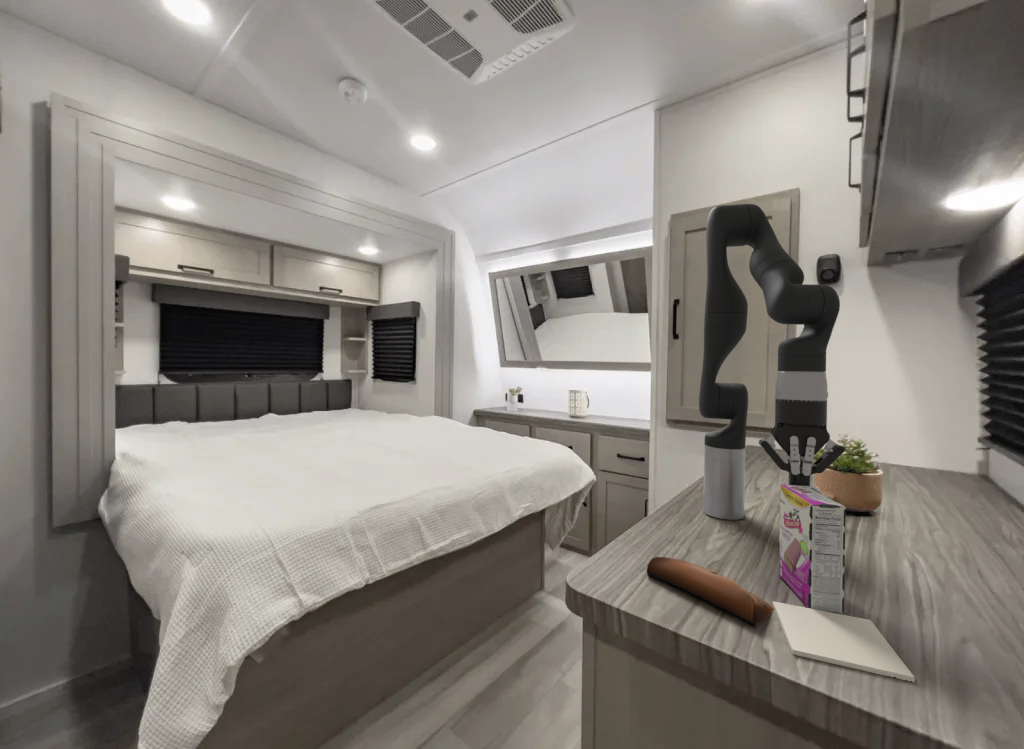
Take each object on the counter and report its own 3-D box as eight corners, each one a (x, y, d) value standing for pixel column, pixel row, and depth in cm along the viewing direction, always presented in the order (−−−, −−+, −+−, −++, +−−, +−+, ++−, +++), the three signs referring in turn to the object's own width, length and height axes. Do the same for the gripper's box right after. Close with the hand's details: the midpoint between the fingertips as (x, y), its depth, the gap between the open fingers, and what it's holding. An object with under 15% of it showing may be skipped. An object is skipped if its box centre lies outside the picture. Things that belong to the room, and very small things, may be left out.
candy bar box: (776, 576, 73) (778, 483, 73) (807, 579, 72) (810, 485, 72) (807, 612, 62) (810, 502, 62) (845, 616, 61) (848, 505, 61)
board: (772, 605, 64) (772, 601, 64) (870, 624, 59) (870, 620, 59) (792, 654, 52) (792, 649, 52) (914, 682, 48) (914, 677, 48)
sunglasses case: (780, 608, 63) (771, 577, 61) (762, 647, 59) (751, 615, 57) (673, 563, 77) (663, 536, 75) (653, 592, 74) (642, 564, 72)
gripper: (838, 397, 74) (836, 494, 74) (754, 395, 79) (752, 485, 79) (855, 400, 67) (853, 506, 67) (761, 397, 72) (759, 496, 72)
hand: (798, 495), depth 73 cm, fingers closed
